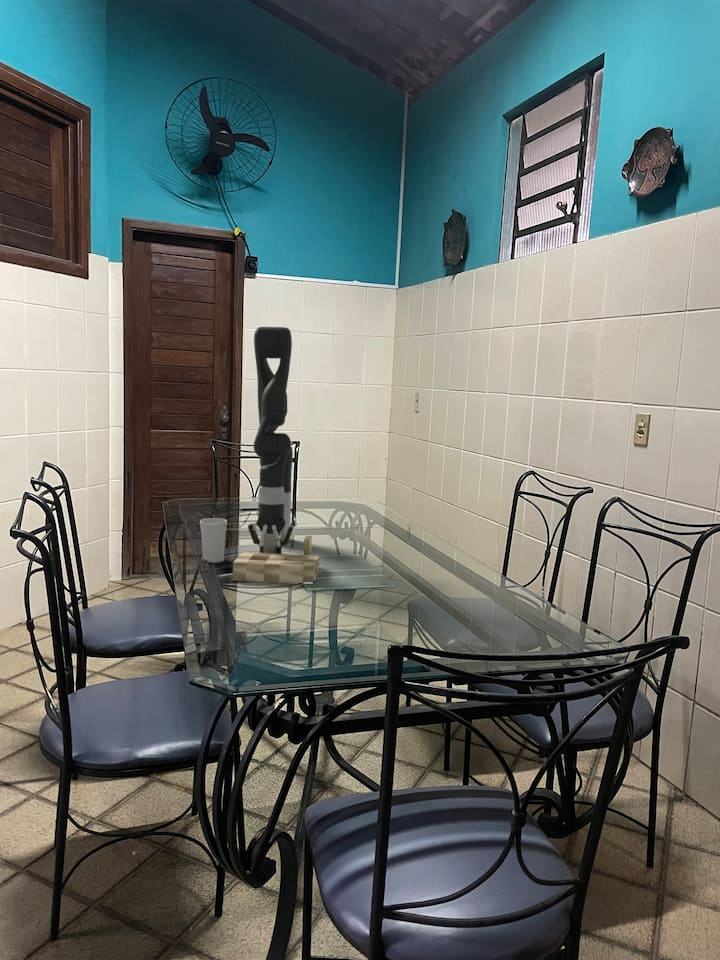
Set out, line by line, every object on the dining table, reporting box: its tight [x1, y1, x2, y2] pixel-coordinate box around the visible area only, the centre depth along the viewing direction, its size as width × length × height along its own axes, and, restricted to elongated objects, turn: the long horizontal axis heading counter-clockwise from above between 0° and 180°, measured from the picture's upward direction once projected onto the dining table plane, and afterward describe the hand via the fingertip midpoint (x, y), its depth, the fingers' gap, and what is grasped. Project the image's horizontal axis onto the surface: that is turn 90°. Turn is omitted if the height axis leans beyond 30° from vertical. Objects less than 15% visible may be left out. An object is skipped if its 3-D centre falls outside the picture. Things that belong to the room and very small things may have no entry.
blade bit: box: [303, 535, 313, 555], centre depth 203 cm, size 5×2×9 cm, turn 176°
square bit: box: [263, 533, 277, 553], centre depth 204 cm, size 4×4×10 cm
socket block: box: [232, 551, 320, 585], centre depth 193 cm, size 12×22×5 cm, turn 86°
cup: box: [199, 517, 228, 564], centre depth 208 cm, size 8×8×12 cm
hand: (270, 558), depth 204 cm, fingers closed on square bit, 3 cm apart
